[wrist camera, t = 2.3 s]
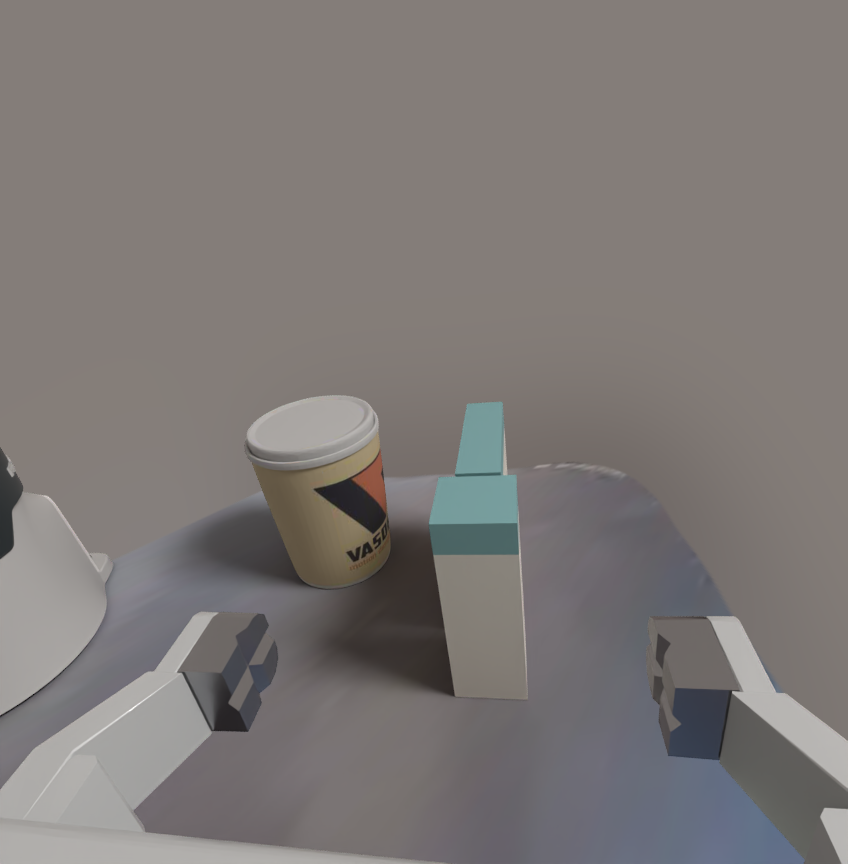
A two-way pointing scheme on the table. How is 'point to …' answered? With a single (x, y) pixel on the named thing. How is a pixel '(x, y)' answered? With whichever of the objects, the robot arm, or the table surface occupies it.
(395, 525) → the table surface
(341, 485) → the coffee cup
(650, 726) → the table surface
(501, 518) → the white teal-topped block
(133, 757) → the robot arm
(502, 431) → the teal and white box
